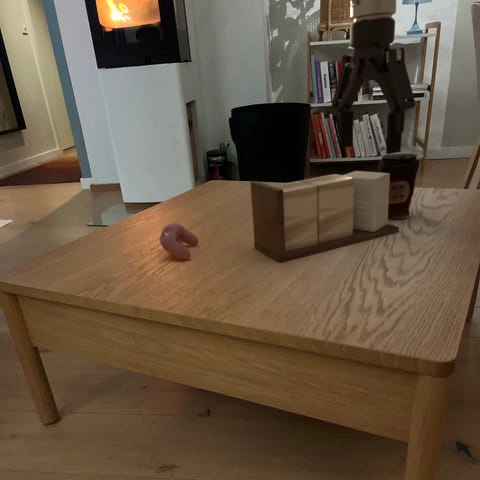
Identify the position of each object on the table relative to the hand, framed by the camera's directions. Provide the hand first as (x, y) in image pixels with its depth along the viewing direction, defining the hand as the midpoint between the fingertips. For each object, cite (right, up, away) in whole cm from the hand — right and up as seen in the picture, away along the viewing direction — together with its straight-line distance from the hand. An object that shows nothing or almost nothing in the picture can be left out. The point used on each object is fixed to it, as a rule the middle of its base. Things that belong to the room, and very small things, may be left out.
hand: (368, 149), depth 91 cm
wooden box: (-7, -17, +4) cm, 19 cm away
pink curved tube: (-36, -19, +5) cm, 42 cm away
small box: (+1, -13, +7) cm, 15 cm away
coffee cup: (+10, -10, +15) cm, 21 cm away
